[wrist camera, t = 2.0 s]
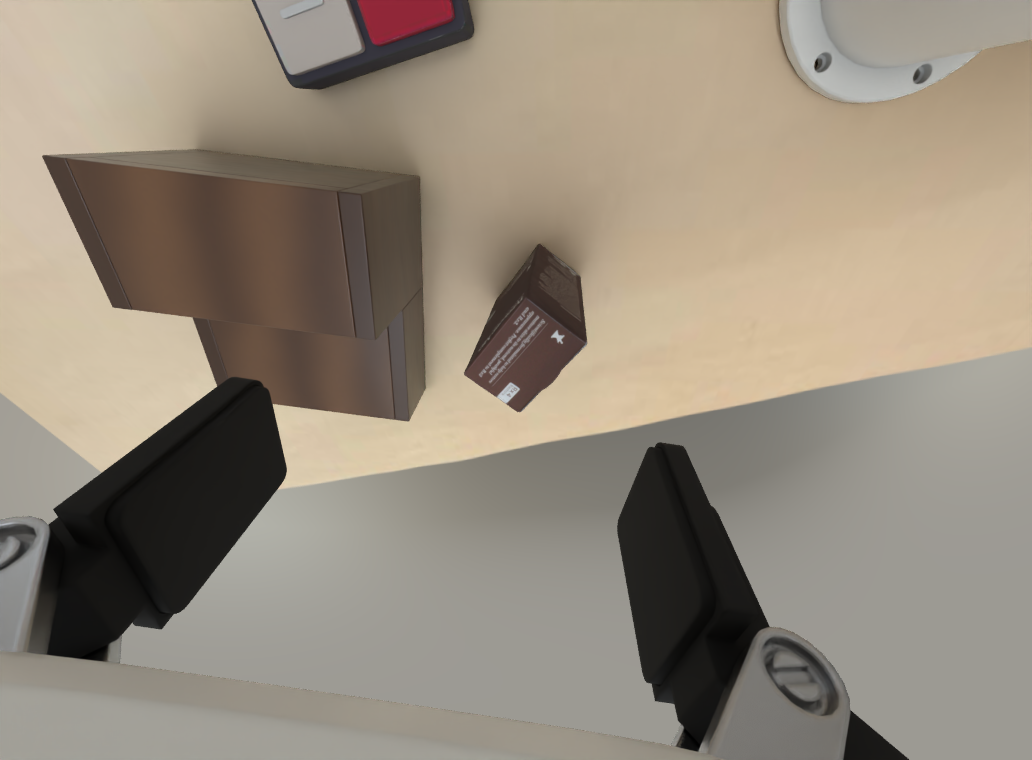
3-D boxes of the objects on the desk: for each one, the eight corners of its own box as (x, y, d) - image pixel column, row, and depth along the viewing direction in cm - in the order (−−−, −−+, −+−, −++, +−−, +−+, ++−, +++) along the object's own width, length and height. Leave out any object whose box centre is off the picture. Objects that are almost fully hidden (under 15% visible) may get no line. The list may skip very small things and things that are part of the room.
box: (535, 239, 29) (526, 294, 19) (581, 276, 31) (595, 347, 20) (489, 300, 32) (459, 376, 22) (533, 332, 33) (524, 419, 23)
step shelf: (419, 176, 28) (361, 194, 19) (425, 389, 37) (387, 464, 29) (196, 149, 28) (40, 155, 19) (258, 367, 38) (172, 435, 29)
